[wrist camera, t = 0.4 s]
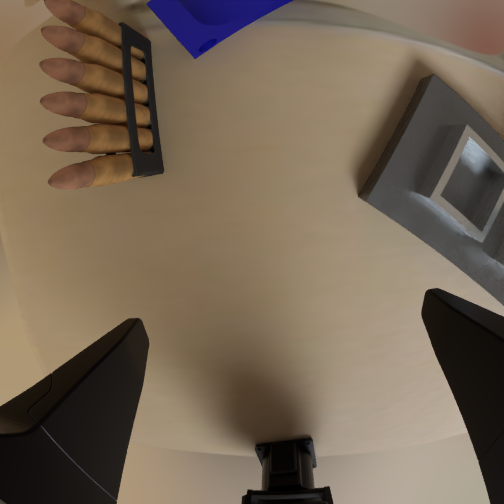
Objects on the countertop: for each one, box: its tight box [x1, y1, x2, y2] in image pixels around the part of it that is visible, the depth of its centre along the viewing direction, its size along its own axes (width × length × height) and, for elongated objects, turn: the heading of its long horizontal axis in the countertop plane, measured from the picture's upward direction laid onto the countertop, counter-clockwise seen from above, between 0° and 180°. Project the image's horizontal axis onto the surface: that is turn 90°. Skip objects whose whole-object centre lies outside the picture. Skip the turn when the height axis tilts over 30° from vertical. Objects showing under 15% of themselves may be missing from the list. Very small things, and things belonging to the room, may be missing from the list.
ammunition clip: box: [39, 0, 164, 189], centre depth 15 cm, size 11×2×12 cm, turn 7°
